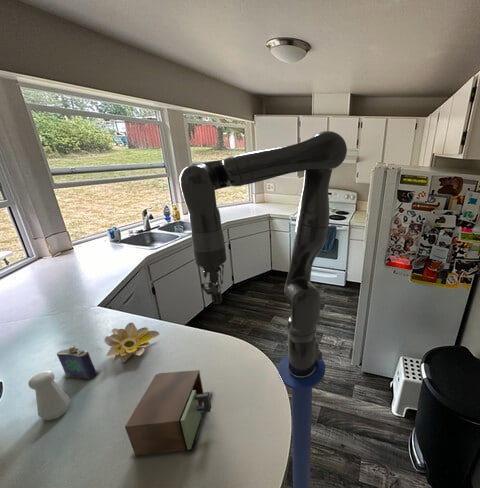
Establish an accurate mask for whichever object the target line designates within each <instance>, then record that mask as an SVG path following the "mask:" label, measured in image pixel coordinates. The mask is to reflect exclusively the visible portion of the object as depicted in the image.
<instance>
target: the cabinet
mask: <svg viewBox="0 0 480 488" xmlns="http://www.w3.org/2000/svg"><path fill="white" fill-rule="evenodd" d="M201 377H202V376H201V373H200V369H194V370H193V369H192V370H182V371H169V372H158V373H157V372H156V373H155V375H154V376H153V378H152V380H151V381H150V383H149V385H148V387H147V388H146V390H145V392H144V393H143V394H142V397H141V399H140V400H139V402H138V403H137V405H136V407H135V408H134V411H133V412H132V414H131V416H130V417H129V419H128V421H127V422H126V423H125V425H124V428H125V432H126V434H127V437H128V440H129V442H130V445H131V448H132V451H133V453H134V456H135V457H136V456H145V455H153V454H160V453H161V454H162V453H171V452H176V451H177V452H178V451H185V452H192V451H194V450H195V449H196V448H195V447H196V444H197V442H198V438H199V434H200V431H201V428H202V425H203V422H204V419H205V416H206V413H207V412H205V411H200V414H201V420H200V423H199V426H198V429H197V432H196V435H195V438H194V441H193V444H192V447H191V449H187V445H186V441H185V437H184V433H183V429H182V425H181V418H182V416H183V413H184V411H185V408H186V406H187V403H188V401H189V398H190V396H191V393H192V391H193V390H196V394H197V395H198V394H203V393H204V388H203V384H202V378H201ZM209 397H210V398H211V397H212V393H211V392H209ZM198 404H199V406H204V403H203V399H198Z"/></svg>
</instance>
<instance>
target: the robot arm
mask: <svg viewBox="0 0 480 488" xmlns="http://www.w3.org/2000/svg"><path fill="white" fill-rule="evenodd" d="M347 153H348V146H347V143H346V141H345V139H344V138H343V136H342V135H340V134H339V133H337V132H336V131H331V130H324V131H321V132H318V133H316V134H314V135H312V136H311V137H310V138H308V139H306V140H303V141H301V142H300V141H299V142H297V143H294V144H291V145H286V146H282V147H276V148H269V149H264V150H256V151H251V152H246V153H241V154H237V155H232V156H229V157H226V158H223V159H218V160H211V161H205V162H199V163H195V164H190V165H189V166H186V167H185V168H183V170H182V171H181V173H180V175H179V184H180V185H179V186H180V190H181V194H182V198H183V200H184V204H185V206H186V209H187V212H188V221H189V225H190V233H191V244H192V251H193V256H194V263H195V265H196V266H198V267H200V268H202V269H203V271H202V276H203V278H204V282H202V283H201V284H200V287H201V289H202V290H203V292H205V294H206V295H208V296H211V303H212V305H220V304H221V303H222V301H223V297H222V291H221V290H222V288H223V287H222V285H223V284H224V272H225V271H224V269H225V263H226V262H227V250H226V243H225V241H226V240H225V236H224V235H225V234H224V232H223V231H224V230H223V227H222V218H221V212H220V209H219V207H218V206H217V205H218V204H217V197H216V191H217V190H220V189H225V188H230V187H234V188H235V187H236V188H237V187H243V186H247V185H251V184H255V183H259V182H264V181H267V180H271V179H274V178H278V177H281V176H284V175H288V174H293V173H298V172H304V177H303V186H302V191H301V194H300V200H299V204H298V211H297V216H296V222H295V229H294V235H293V236H294V237H293V244H292V249H291V251H292V252H291V259H290V265H289V268H288V272H287V275H286V276H287V277H286V280H285V284H284V289H283V294H284V299H285V300H286V302H287V303H288V304H289V306H290V307H291V315H290V316H289V317H288V319H287V354H288V362H289V364H288V370H289V372H290V374H291V375H292V376H294V377H296V378H307V377H309V376H311V375H312V374H313V373H314V371H315V369H316V367H318V361H319V360H321V359H323V352H322V351H321V350H320V349H319V344H318V342H317V327H318V326H317V325H318V323H319V321H320V316H321V315H320V314H321V305H322V303H321V302H322V298H321V294H320V291H319V290H318V289H317V287H316V286H315V285H314V284H313V283H312V282H311V281H312V280H311V277H312V269H313V264H314V261H315V259H316V258H317V257H318V255H319V254H320V252H321V251H322V249H323V247H324V246H325V244H326V240H327V238H328V237H327V236H328V232H329V224H330V199H329V197H330V196H329V189H330V181H331V177H332V173H333V170H334V169H336V168H338V167H339V166H341V165H342V164H343V163H344V161H345V160H346V157H347Z"/></svg>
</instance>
